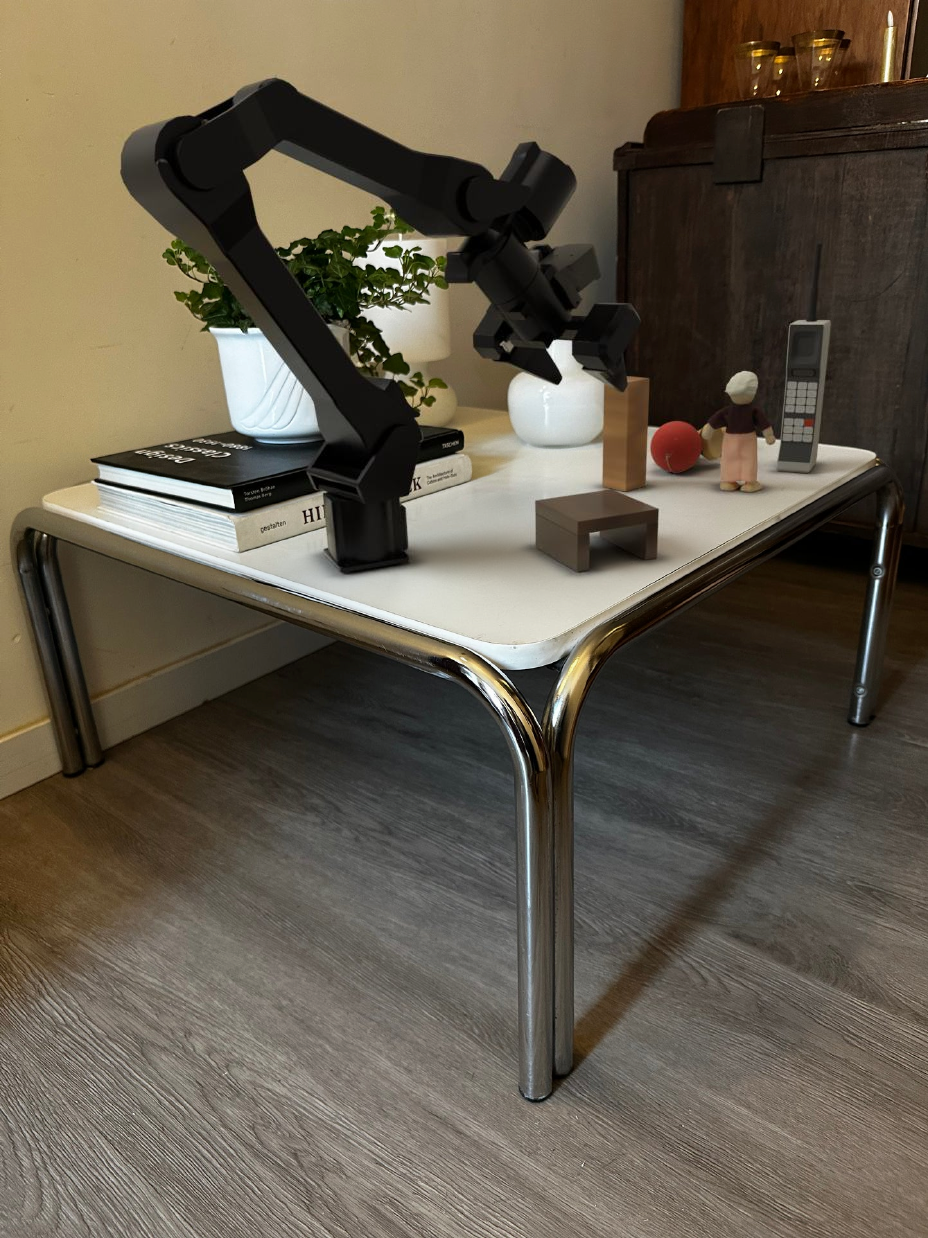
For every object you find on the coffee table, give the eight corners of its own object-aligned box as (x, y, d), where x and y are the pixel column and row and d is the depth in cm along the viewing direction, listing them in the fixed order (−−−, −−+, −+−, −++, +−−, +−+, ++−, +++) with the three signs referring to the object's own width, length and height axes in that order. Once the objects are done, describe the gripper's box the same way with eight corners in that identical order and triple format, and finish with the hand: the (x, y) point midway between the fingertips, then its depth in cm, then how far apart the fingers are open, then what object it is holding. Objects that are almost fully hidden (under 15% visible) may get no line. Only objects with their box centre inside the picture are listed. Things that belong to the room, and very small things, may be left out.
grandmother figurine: (770, 484, 104) (780, 368, 99) (771, 493, 100) (781, 373, 96) (700, 482, 106) (706, 368, 101) (698, 491, 103) (705, 373, 98)
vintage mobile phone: (776, 471, 110) (796, 243, 100) (784, 462, 114) (804, 242, 104) (809, 473, 108) (833, 242, 98) (816, 464, 112) (839, 241, 103)
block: (625, 491, 104) (628, 381, 99) (602, 486, 106) (603, 379, 102) (645, 485, 106) (649, 378, 101) (622, 481, 108) (624, 375, 104)
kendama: (690, 455, 125) (628, 463, 111) (703, 408, 123) (642, 410, 109) (743, 471, 121) (686, 482, 107) (758, 423, 119) (702, 428, 105)
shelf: (577, 572, 79) (577, 521, 77) (535, 547, 86) (534, 500, 84) (657, 558, 82) (659, 508, 80) (610, 534, 89) (611, 488, 87)
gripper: (630, 207, 82) (700, 327, 92) (489, 217, 95) (564, 321, 106) (568, 308, 80) (646, 418, 91) (433, 304, 94) (515, 400, 104)
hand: (590, 385), depth 98 cm, fingers open, 9 cm apart
